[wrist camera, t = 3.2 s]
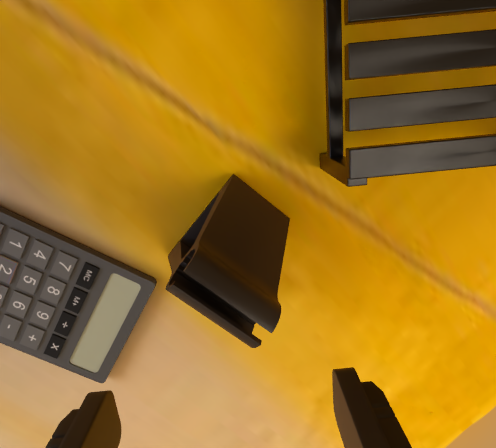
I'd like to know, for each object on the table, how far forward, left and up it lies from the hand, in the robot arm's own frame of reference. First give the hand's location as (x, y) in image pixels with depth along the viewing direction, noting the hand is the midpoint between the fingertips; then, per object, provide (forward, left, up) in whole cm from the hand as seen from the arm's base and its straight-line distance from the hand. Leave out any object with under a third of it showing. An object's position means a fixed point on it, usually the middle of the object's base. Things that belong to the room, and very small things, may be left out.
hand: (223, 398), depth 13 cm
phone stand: (0, 0, -19) cm, 19 cm away
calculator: (-16, -4, -19) cm, 25 cm away
